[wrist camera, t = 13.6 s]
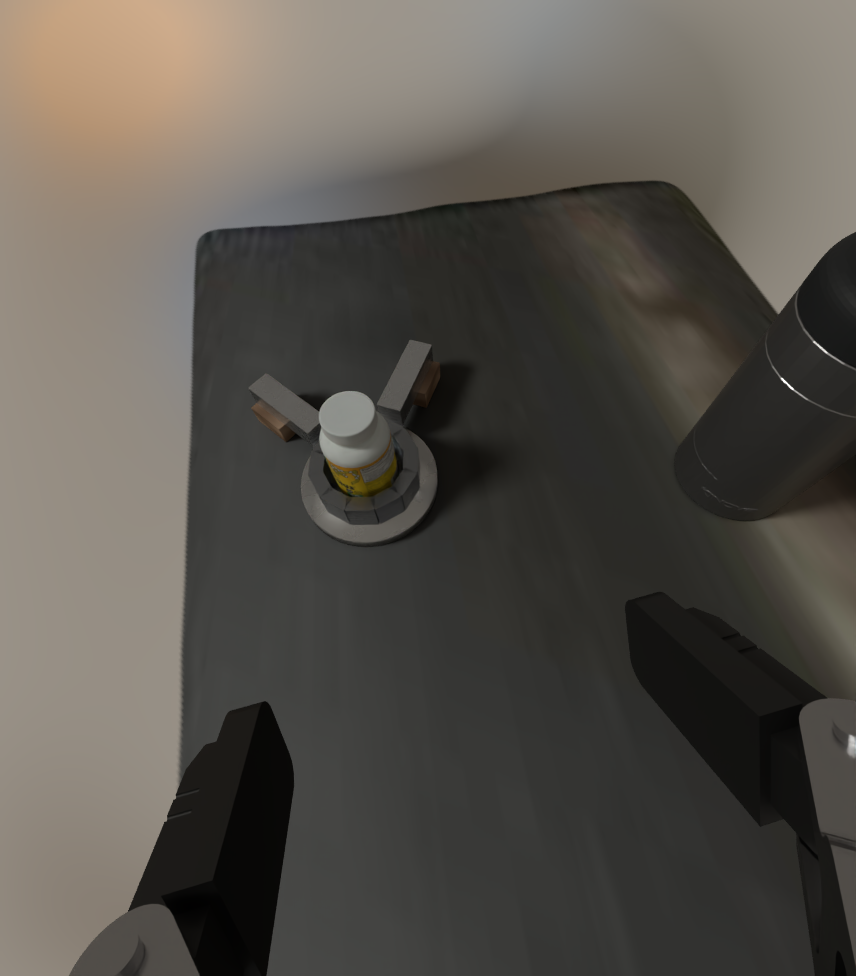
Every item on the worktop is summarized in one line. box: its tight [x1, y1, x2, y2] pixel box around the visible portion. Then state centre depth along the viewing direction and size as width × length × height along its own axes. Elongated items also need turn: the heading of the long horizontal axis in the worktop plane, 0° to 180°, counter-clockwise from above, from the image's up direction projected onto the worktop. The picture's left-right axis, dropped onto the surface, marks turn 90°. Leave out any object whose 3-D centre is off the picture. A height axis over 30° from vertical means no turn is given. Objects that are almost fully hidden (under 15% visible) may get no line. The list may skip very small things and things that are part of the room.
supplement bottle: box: [319, 391, 399, 497], centre depth 38 cm, size 5×5×10 cm
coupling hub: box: [301, 418, 438, 547], centre depth 41 cm, size 12×12×4 cm
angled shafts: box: [248, 340, 433, 447], centre depth 45 cm, size 14×14×2 cm
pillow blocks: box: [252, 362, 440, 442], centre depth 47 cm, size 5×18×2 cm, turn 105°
